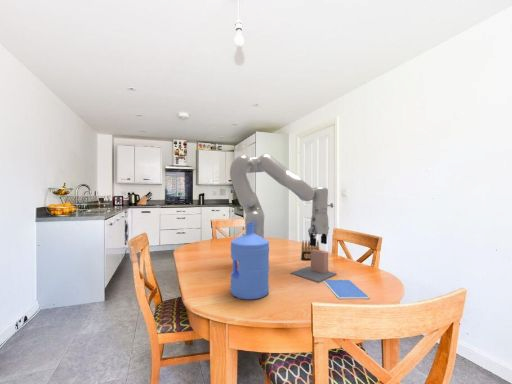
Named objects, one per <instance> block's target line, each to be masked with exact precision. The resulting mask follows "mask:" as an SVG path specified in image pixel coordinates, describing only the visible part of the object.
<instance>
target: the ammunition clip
mask: <svg viewBox="0 0 512 384" xmlns="http://www.w3.org/2000/svg"><path fill="white" fill-rule="evenodd" d="M314 249H315V250H320V245H319V239H316V246H315V247H314V246H310V240H308V241H307V240H305V242H304V240H302V243H301V254H300V255H301V256H300V260H301V261H304V262H305V261H310V262H311V250H314Z"/></svg>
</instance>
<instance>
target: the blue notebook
mask: <svg viewBox="0 0 512 384" xmlns="http://www.w3.org/2000/svg"><path fill="white" fill-rule="evenodd" d="M322 282H323V283H324V284H325V285H326V286H327V288H329V290H330V291H331V292H332V294H333V295H334V296H335V297H336V298H337V299H338V300H369V299H370V296H369V295H368V294H366V293H365V292H364V291H363V290H362V289H360V288H359V287H358V286H357V285H356V284H354V282H352V281H351V280H349V279H326V280H324V281H322Z"/></svg>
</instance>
